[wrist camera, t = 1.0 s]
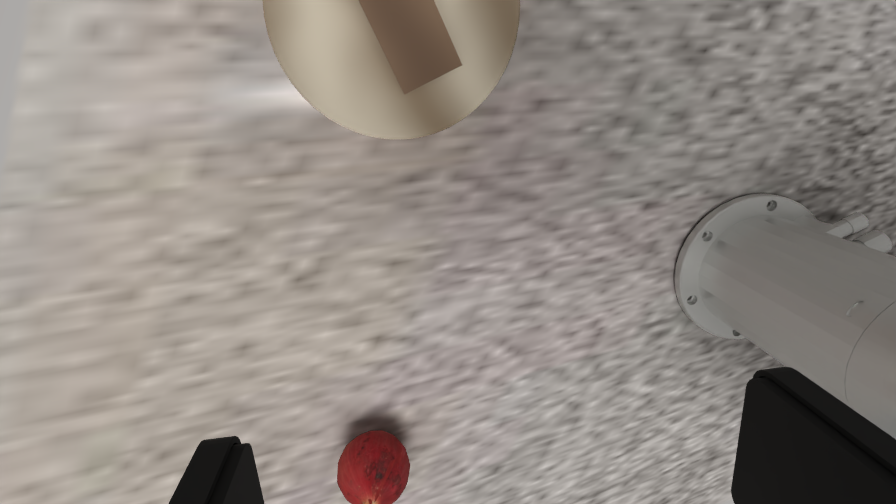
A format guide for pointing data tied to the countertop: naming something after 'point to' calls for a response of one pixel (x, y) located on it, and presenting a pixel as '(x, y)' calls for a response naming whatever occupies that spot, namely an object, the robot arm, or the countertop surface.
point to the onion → (373, 469)
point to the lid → (393, 59)
